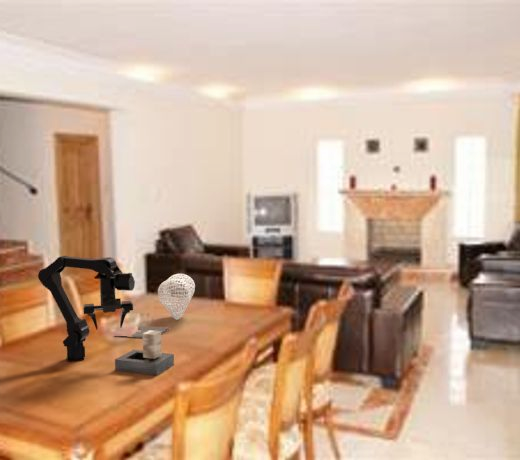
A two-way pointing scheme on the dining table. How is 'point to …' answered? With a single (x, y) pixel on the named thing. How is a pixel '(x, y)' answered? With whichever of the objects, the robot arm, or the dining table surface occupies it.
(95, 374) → the dining table surface
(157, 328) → the play button award
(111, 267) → the robot arm
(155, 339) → the keyhole post
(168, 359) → the keyhole plate
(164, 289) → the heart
